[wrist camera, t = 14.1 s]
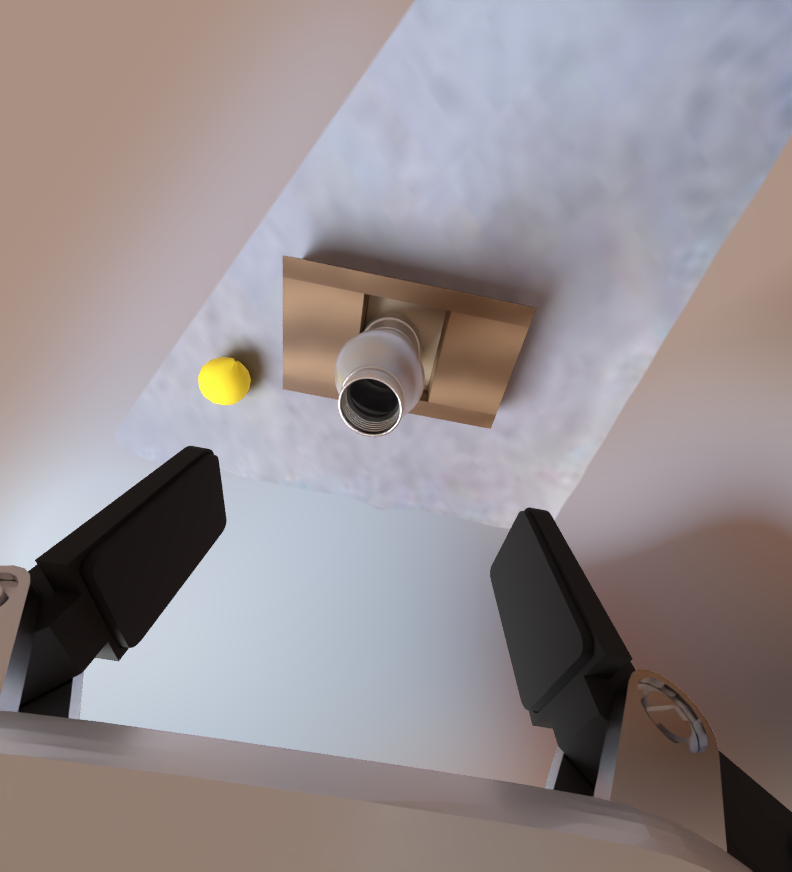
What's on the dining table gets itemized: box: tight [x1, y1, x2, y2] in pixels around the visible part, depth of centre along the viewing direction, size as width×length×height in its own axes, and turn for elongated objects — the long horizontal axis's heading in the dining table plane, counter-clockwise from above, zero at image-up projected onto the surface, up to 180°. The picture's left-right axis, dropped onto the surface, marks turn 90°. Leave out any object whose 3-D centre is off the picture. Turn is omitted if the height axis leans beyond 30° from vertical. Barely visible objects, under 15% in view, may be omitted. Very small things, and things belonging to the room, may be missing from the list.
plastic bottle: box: [334, 313, 425, 437], centre depth 25 cm, size 6×7×20 cm
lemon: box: [198, 357, 251, 405], centre depth 36 cm, size 7×5×5 cm
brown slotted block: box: [283, 256, 536, 429], centre depth 33 cm, size 13×24×5 cm, turn 80°
